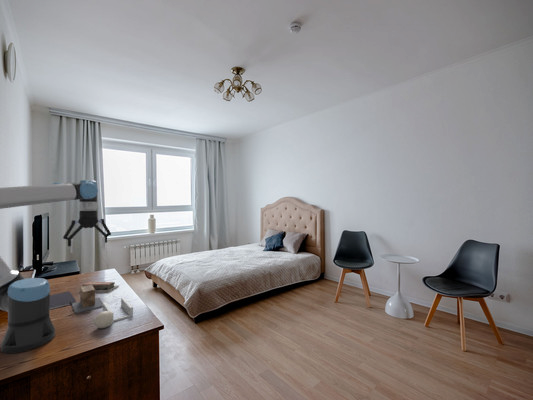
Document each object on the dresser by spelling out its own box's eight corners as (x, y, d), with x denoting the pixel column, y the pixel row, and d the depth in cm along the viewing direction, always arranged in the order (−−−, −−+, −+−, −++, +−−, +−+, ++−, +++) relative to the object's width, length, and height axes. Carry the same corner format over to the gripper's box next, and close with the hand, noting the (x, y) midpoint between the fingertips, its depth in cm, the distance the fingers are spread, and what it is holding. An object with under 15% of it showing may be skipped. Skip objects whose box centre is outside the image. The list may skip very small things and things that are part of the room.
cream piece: (95, 325, 109) (95, 309, 109) (114, 322, 111) (114, 307, 111) (91, 332, 102) (91, 316, 102) (111, 329, 105) (111, 313, 105)
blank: (83, 307, 124) (83, 292, 124) (80, 301, 131) (80, 286, 131) (95, 304, 128) (95, 289, 128) (91, 299, 135) (91, 284, 135)
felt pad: (75, 313, 119) (75, 312, 119) (71, 304, 129) (71, 303, 129) (104, 306, 127) (104, 305, 127) (98, 298, 137) (98, 297, 137)
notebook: (40, 299, 136) (44, 311, 122) (40, 297, 136) (44, 308, 122) (69, 293, 146) (76, 304, 131) (69, 291, 146) (76, 301, 131)
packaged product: (78, 285, 146) (90, 279, 156) (78, 293, 146) (90, 287, 156) (109, 285, 146) (119, 279, 156) (109, 293, 146) (119, 287, 156)
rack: (110, 322, 111) (110, 313, 111) (102, 310, 123) (102, 302, 123) (133, 316, 117) (133, 307, 117) (123, 305, 129) (123, 297, 129)
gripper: (57, 211, 117) (57, 255, 117) (117, 209, 134) (117, 248, 134) (56, 210, 122) (56, 253, 122) (114, 209, 139) (113, 246, 139)
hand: (88, 250), depth 128 cm, fingers open, 13 cm apart
